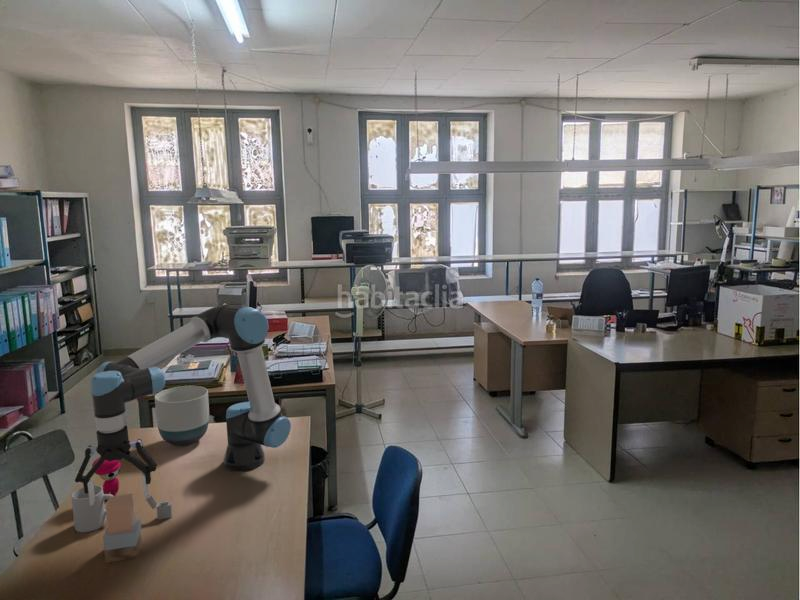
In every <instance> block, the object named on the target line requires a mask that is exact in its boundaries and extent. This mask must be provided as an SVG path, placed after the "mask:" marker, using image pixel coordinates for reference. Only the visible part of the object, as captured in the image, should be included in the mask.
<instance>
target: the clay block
mask: <svg viewBox="0 0 800 600" xmlns="http://www.w3.org/2000/svg"><path fill="white" fill-rule="evenodd" d="M134 504H135V503H134V493H126V494H119V495H113V496H112V497H109V499H107V503H106V505H105V510H106V523H107V527H108V534H113V533H119V532H125V531H131V530H132V529H133V525H134V520H135V518H136V517H135V507H134V506H135V505H134Z"/></svg>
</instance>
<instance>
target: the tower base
mask: <svg viewBox="0 0 800 600" xmlns="http://www.w3.org/2000/svg"><path fill="white" fill-rule="evenodd" d="M141 544H142V531H141V532H140V535H139V538H138V541H137V545H136V546H131V547H124V548H118V549H111V550H104V549H103V551H104V552H103V553H104V561H105V563H106V564H107V563H112V562H117V561H122V560H123V561H124V560H128V559H130V560H131V559H134V558H135V559H136V558H137V557H138V555H139V551H140V548H141ZM105 563H104V564H105Z"/></svg>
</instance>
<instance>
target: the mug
mask: <svg viewBox="0 0 800 600" xmlns="http://www.w3.org/2000/svg"><path fill="white" fill-rule="evenodd" d="M93 485H94V484H93ZM94 493H95V502H94V504H93V505H90V500H89V493H87V494H85V492H84V486H83V487H81V488H78V489H76V490H75V491H74V492H73V493H72V494H71V502H72V503H71V505H72V513H73V525H74V527H73V528H74V529H75V531H76V532H77V533H82V534H83V533H91V532H94V531H97V530H99V529H100V528H103V526H105V524H106V523H107V516H106V505H105V501H106V500H108V499H109V497H112V496H114V495H111V494H104V493H103V486H101V485H97V484H96V485H94Z"/></svg>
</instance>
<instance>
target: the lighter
mask: <svg viewBox="0 0 800 600" xmlns="http://www.w3.org/2000/svg"><path fill="white" fill-rule="evenodd" d="M145 501H146V502H147V503H148V505H149V506H150V508H151V509H152V510H153V509H156V515H157V517H156V518H157V520H164V519H171V518H173V508H172V507H173V505H172V502H169V501H168V500H161V501H160V502H159V503H157V501H156V500H155V499H154V497H153V496H152V495H151V494H149V495H147V497H145Z"/></svg>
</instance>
